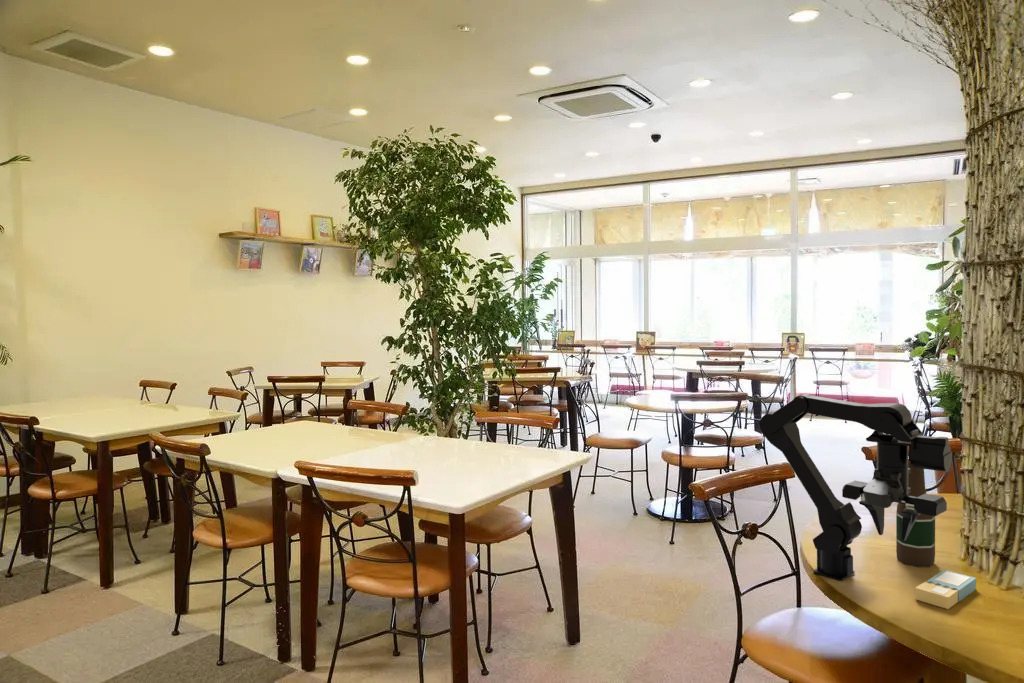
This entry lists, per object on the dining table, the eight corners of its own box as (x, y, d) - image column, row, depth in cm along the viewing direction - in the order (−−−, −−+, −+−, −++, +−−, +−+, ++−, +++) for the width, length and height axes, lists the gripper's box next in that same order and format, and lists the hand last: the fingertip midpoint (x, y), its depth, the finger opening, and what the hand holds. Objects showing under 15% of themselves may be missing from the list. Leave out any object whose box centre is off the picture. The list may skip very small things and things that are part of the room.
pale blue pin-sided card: (926, 592, 144) (926, 580, 143) (944, 580, 149) (944, 569, 149) (959, 601, 139) (959, 589, 139) (975, 589, 144) (976, 577, 144)
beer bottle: (912, 553, 165) (912, 453, 163) (943, 564, 158) (943, 460, 156) (888, 558, 162) (888, 457, 161) (918, 570, 155) (919, 464, 153)
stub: (915, 599, 140) (915, 587, 140) (925, 592, 143) (925, 580, 143) (948, 609, 136) (948, 596, 135) (957, 602, 138) (957, 589, 138)
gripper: (829, 463, 147) (829, 535, 148) (924, 479, 132) (924, 559, 133) (854, 454, 154) (854, 523, 155) (948, 469, 139) (947, 545, 140)
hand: (892, 537), depth 145 cm, fingers open, 4 cm apart
